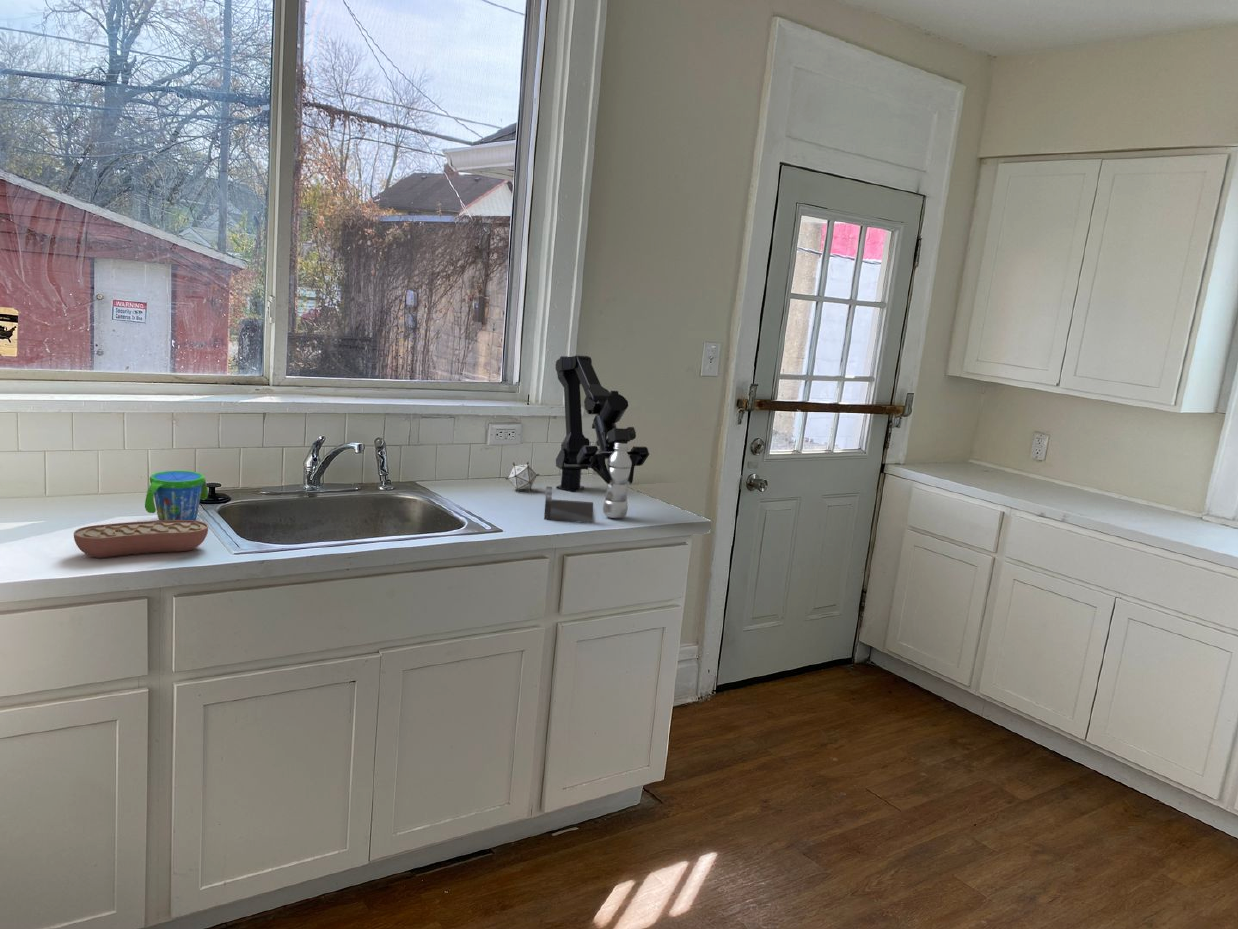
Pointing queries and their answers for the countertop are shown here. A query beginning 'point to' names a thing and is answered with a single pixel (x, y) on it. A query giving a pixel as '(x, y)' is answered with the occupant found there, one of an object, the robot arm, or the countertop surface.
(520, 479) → the game die
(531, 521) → the countertop surface
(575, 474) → the robot arm
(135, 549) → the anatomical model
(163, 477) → the snack cup
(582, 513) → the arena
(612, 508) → the plastic bottle
